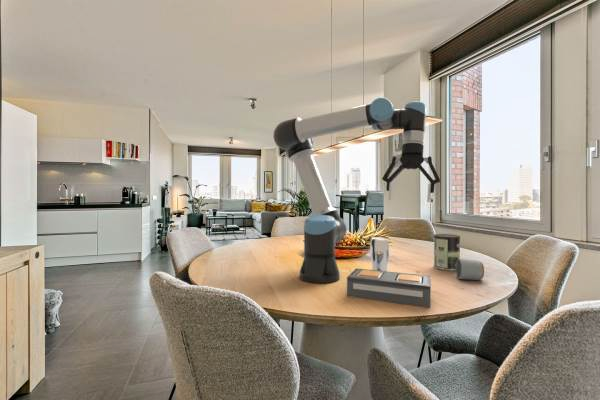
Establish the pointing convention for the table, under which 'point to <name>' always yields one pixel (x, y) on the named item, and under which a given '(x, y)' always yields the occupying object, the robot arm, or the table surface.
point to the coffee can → (446, 251)
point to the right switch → (409, 278)
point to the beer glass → (379, 253)
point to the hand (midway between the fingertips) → (408, 200)
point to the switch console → (390, 288)
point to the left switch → (370, 274)
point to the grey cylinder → (469, 269)
